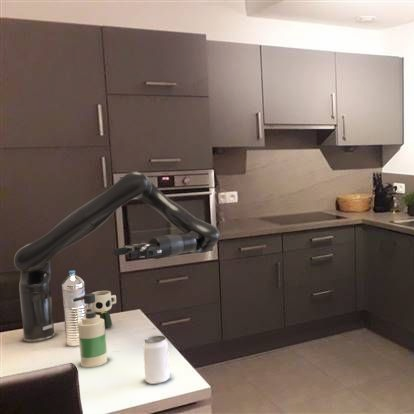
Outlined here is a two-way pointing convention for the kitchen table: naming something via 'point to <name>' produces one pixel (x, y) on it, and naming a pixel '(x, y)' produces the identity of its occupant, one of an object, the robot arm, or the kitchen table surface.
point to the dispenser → (92, 340)
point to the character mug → (103, 305)
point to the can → (156, 359)
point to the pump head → (87, 299)
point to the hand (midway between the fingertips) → (120, 254)
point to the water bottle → (73, 307)
